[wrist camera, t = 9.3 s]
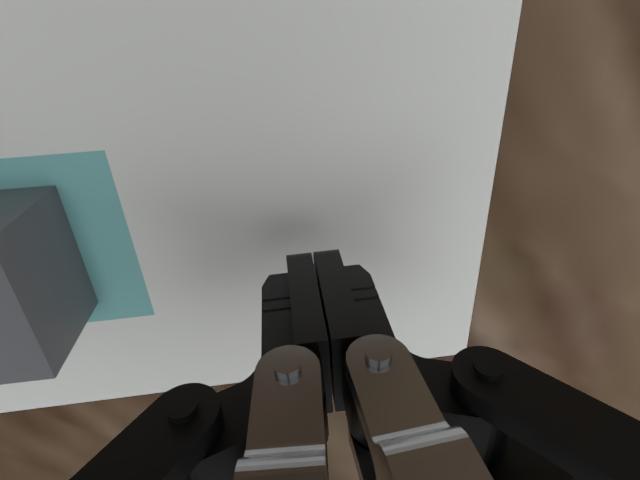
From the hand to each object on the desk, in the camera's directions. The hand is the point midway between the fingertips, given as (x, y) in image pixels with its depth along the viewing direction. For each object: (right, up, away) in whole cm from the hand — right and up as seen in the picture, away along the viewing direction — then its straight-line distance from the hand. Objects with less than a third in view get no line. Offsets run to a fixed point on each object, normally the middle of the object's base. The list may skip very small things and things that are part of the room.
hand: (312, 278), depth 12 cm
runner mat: (-7, +2, +4) cm, 8 cm away
